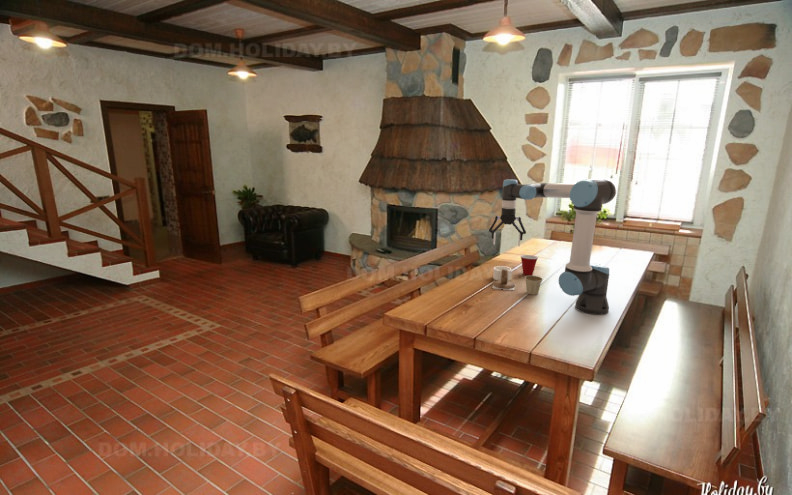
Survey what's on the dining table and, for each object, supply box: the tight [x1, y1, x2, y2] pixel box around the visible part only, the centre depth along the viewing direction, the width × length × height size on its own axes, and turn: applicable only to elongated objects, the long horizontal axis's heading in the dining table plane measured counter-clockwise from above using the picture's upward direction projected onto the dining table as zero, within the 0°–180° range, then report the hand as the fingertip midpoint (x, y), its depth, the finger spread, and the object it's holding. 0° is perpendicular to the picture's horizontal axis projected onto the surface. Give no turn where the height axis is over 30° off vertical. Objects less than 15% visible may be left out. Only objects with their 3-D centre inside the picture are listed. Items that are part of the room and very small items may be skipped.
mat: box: [491, 284, 516, 291], centre depth 241 cm, size 12×12×1 cm
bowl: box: [492, 265, 512, 281], centre depth 254 cm, size 10×10×6 cm
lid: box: [492, 269, 516, 289], centre depth 240 cm, size 12×12×9 cm
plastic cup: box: [520, 254, 539, 277], centre depth 262 cm, size 11×11×12 cm
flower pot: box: [524, 275, 544, 296], centre depth 229 cm, size 9×9×9 cm
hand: (506, 245), depth 235 cm, fingers open, 13 cm apart
